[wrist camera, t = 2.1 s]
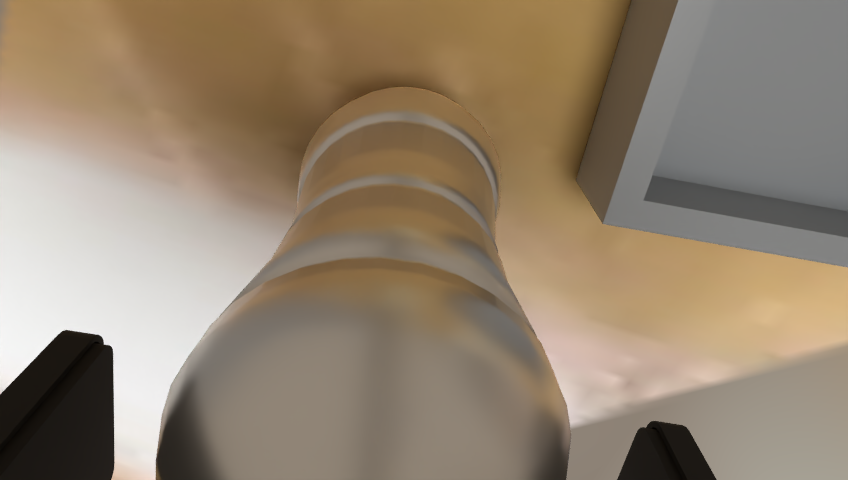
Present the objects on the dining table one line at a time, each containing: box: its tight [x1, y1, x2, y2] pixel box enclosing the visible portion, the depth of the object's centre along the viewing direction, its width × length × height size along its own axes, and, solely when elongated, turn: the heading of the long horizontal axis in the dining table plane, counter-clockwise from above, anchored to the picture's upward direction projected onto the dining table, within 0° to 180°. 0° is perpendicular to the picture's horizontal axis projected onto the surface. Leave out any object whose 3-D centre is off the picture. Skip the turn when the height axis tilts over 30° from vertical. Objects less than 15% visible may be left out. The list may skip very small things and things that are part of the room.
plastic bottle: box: [156, 87, 571, 480], centre depth 14 cm, size 6×7×20 cm
